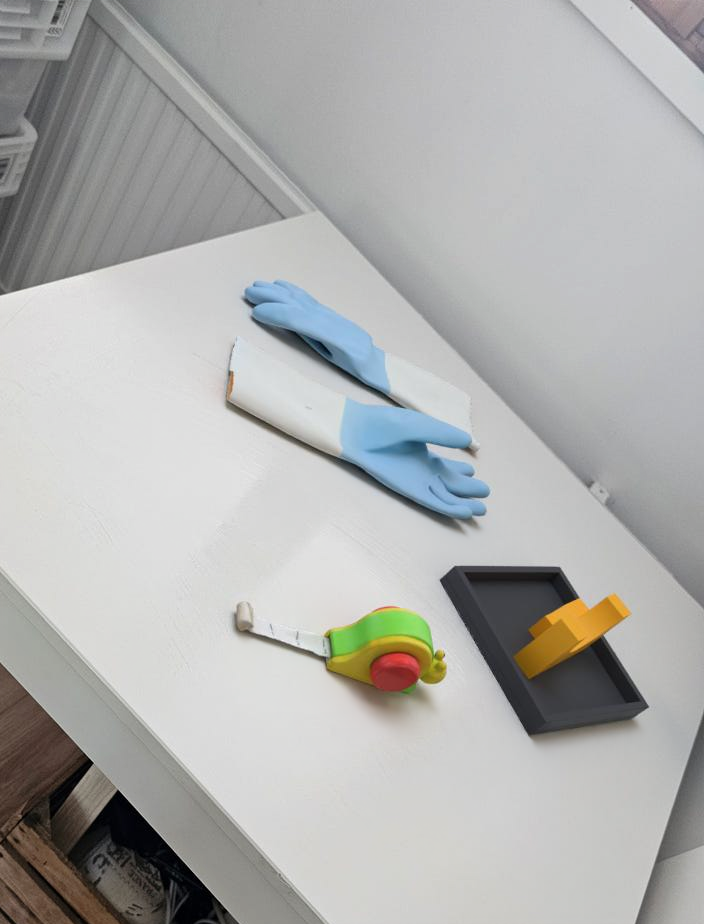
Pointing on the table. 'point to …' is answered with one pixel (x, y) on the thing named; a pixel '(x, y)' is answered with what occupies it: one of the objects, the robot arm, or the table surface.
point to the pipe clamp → (568, 633)
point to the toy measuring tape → (366, 647)
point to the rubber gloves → (359, 404)
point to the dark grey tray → (507, 632)
